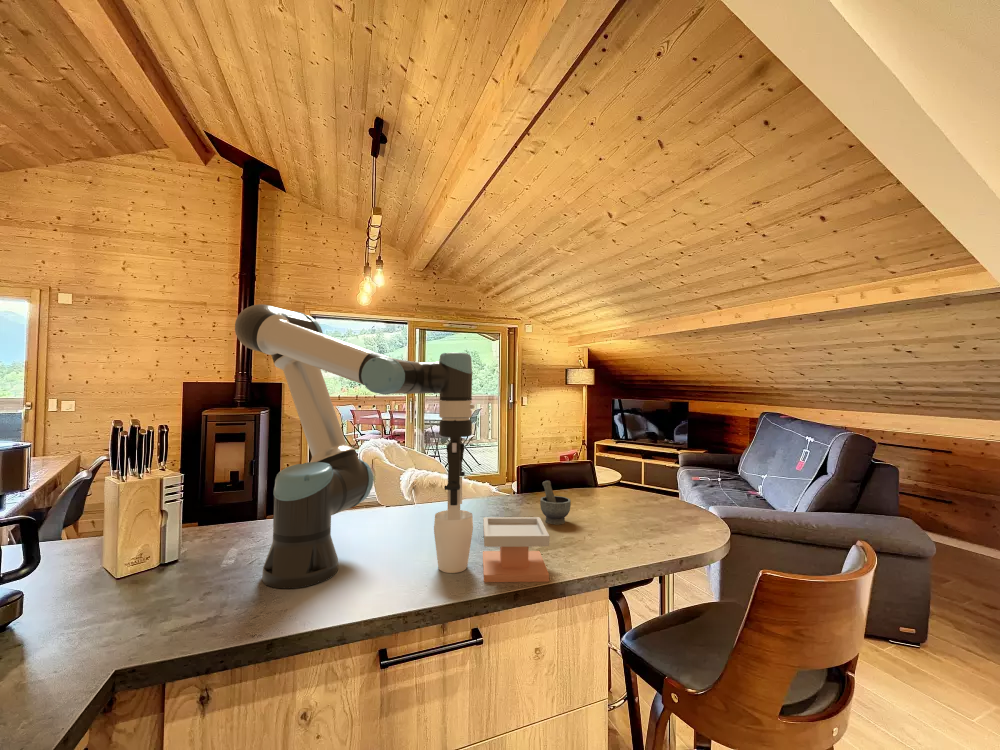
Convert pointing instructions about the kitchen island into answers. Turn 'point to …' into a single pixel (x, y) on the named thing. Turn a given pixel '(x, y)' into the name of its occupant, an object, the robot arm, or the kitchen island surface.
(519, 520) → the stand
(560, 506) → the mortar and pestle
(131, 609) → the kitchen island surface
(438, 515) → the cup
